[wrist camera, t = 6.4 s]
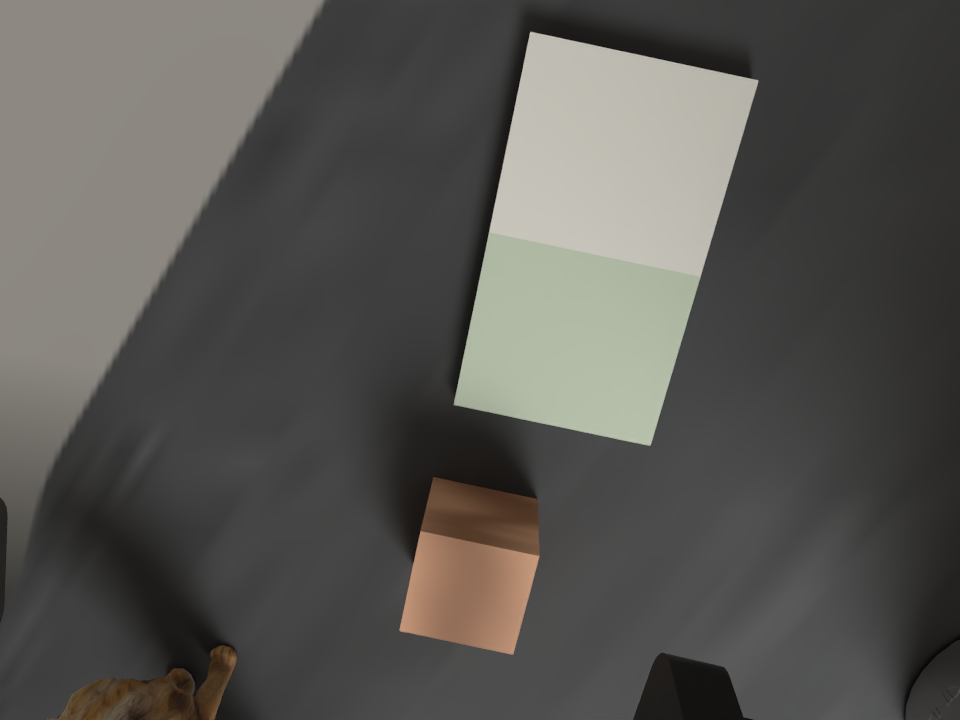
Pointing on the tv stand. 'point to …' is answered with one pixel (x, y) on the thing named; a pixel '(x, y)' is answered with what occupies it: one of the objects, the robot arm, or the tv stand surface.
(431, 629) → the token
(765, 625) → the tv stand surface
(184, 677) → the lion figurine
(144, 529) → the tv stand surface
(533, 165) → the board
